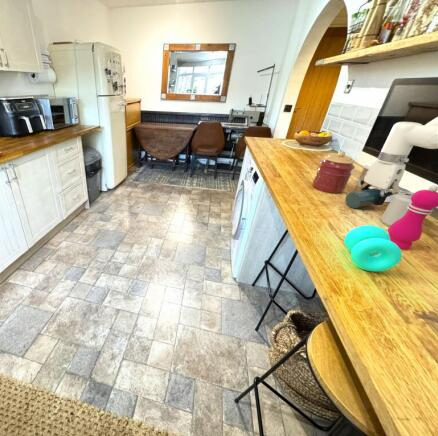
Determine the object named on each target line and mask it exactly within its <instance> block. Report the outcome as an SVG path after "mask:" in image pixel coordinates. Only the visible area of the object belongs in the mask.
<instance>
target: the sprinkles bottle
mask: <svg viewBox="0 0 438 436" xmlns="http://www.w3.org/2000/svg"><path fill="white" fill-rule="evenodd" d="M372 163H373V162H372ZM372 163H371V162H366V163H364V166H363V169H362V171H361V173H360V175H359V177H360V176H362V175H364V174H366V173H367V171H368V169H369V168H370V166H371V165H372ZM359 177H358V179H357V181H356V183H355V185H354V188H353V189H352V192H356V191H361V189H362V188H361V183H360V182H361V181H360V178H359Z"/></svg>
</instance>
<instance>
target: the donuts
mask: <svg viewBox="0 0 438 436" xmlns="http://www.w3.org/2000/svg"><path fill="white" fill-rule="evenodd" d="M343 244H344V246H345V248H346V250H348V251H349V252H350V259H351V261H352V262H353V264H354V265H355V266H356V267H358V268H359V269H362V270H364V271H368V272H374V273H375V272H384V271H387V270H388V271H389V270H391V269H393V268H395V267H397V266H398V264H399V263H400V261H401V260H402V255H403V254H402V249H400V248H399V247H398V246H397V245H396V244H395V243H393V242H391V241H390V236H389V233H388V231H387V230H385V229H384V228H382V227H380V226H377V225H371V224H364V225H360V226H359V225H358V226H356V227H354V228H352V229H350V230H349V231H348V232H347V233H346V234H345V236H344V240H343Z"/></svg>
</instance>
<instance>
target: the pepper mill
mask: <svg viewBox="0 0 438 436" xmlns="http://www.w3.org/2000/svg"><path fill="white" fill-rule="evenodd" d="M413 193H414V194H413V195H412V196H411V201H412V203H410V204H409V206H408V207H407V208H408V211H407V213H406V214H405V215H404V216H403V217H402V218H401V219H399V220H397V221H396V222H394V223H393V224H392V225H390V227H389V226H388V228H387V233H388V234H389V236H390V241H391V242H393V243H395V244H396V245H397V246H398V247H399V248H400V250H401V251H403V250H404V251H408V250H411V247H412V246H413V243H414V242H417V241H419V240H420V239H421V237H422V235H423V222H424V220H425V219H426V217H427V216H428V215H431V214H432V212H434V208H438V185H430V186H429V187H428V189H419V190H417V191H415V192H413Z"/></svg>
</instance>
